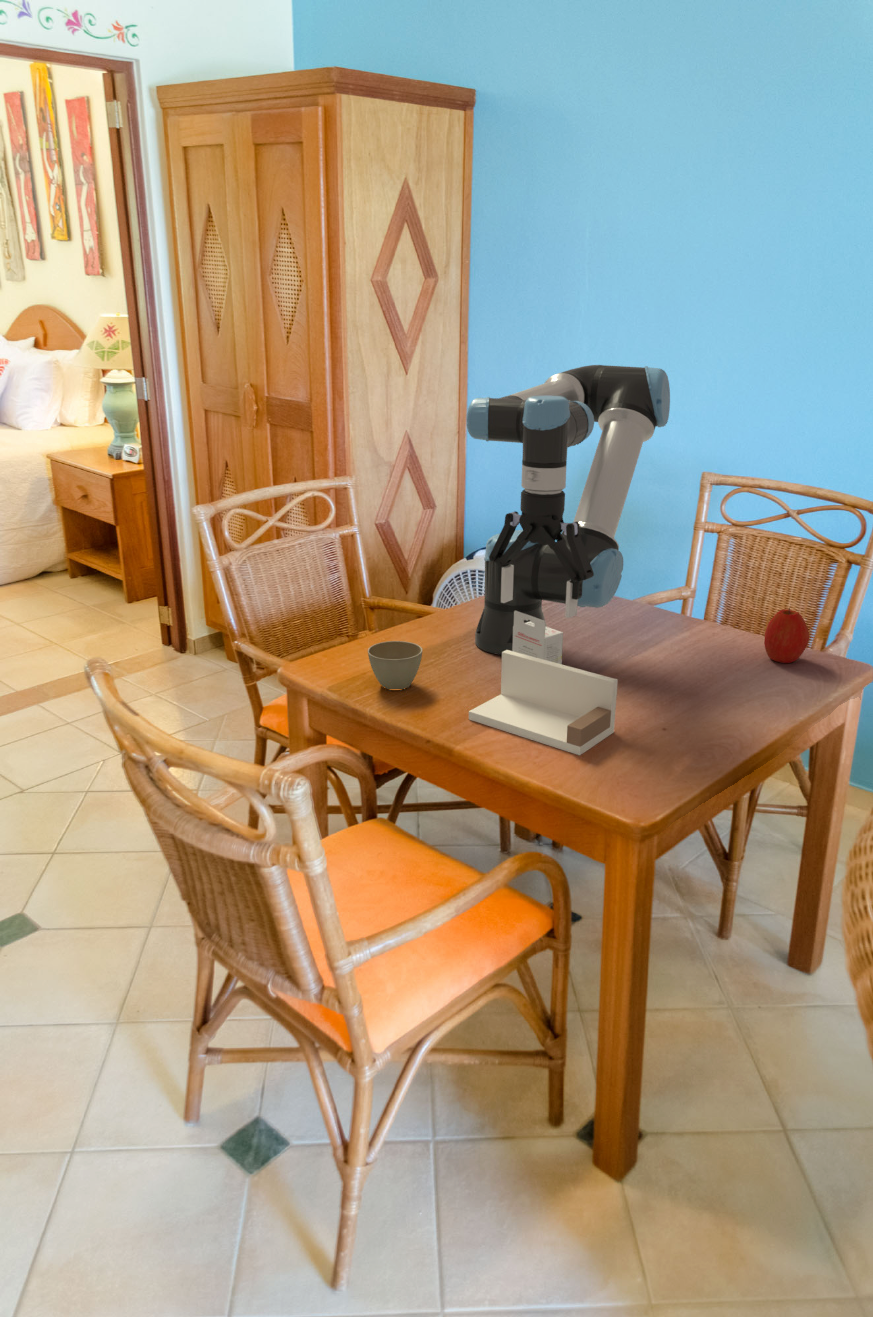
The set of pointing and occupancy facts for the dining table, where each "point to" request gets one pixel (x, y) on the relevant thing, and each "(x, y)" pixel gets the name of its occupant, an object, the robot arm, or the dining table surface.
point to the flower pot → (395, 663)
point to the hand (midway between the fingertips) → (538, 608)
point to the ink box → (536, 638)
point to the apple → (786, 636)
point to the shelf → (551, 703)
